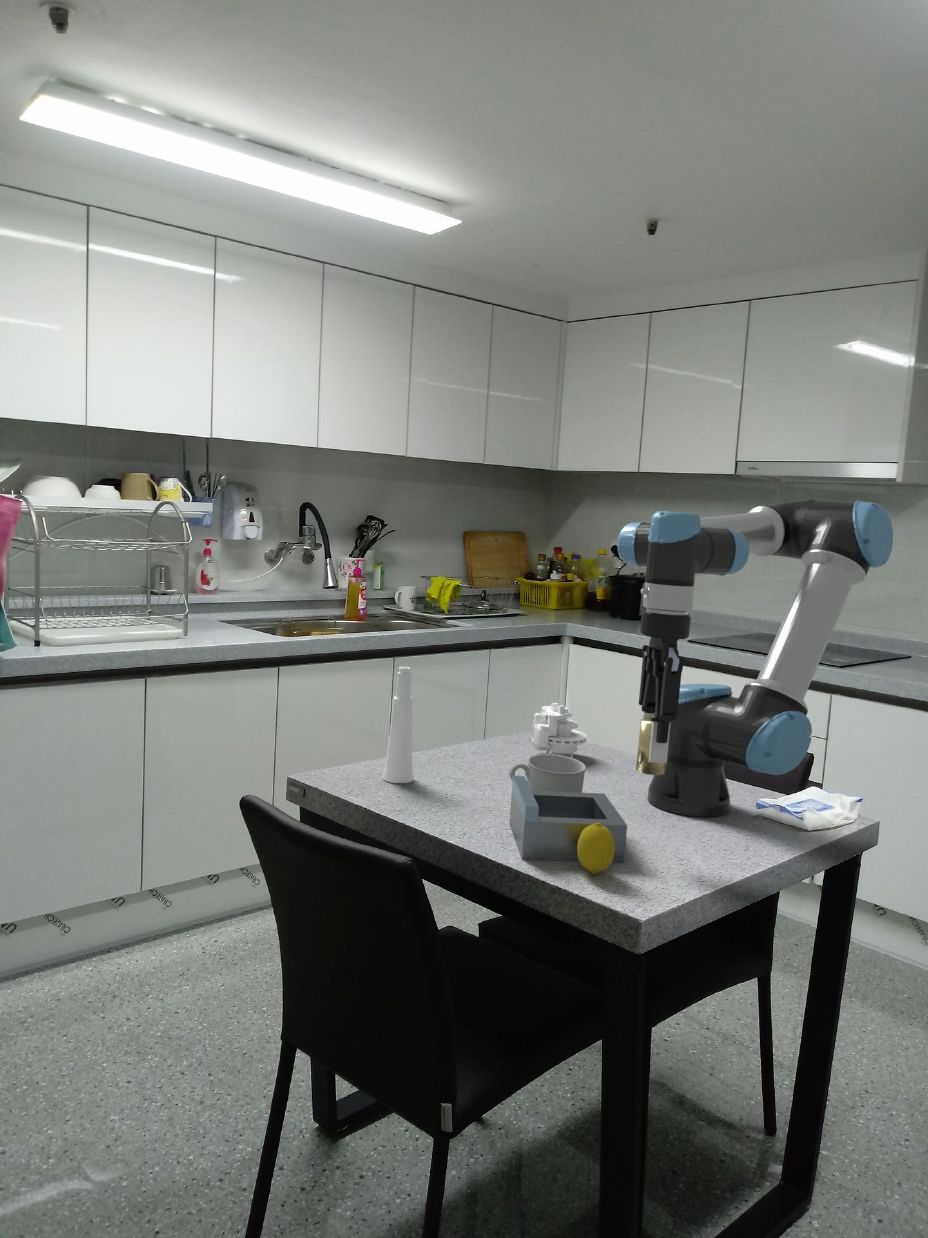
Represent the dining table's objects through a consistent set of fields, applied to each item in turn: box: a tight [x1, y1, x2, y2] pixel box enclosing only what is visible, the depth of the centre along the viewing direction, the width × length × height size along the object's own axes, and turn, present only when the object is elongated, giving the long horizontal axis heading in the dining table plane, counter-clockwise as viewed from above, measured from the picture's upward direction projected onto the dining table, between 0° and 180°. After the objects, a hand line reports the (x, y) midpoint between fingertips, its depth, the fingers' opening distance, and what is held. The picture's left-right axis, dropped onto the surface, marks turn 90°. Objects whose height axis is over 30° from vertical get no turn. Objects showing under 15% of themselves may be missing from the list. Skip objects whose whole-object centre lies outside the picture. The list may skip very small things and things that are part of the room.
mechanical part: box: [530, 702, 587, 758], centre depth 204 cm, size 11×12×12 cm
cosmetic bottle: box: [382, 666, 415, 784], centre depth 179 cm, size 6×6×22 cm
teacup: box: [508, 753, 587, 793], centre depth 171 cm, size 14×11×8 cm
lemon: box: [577, 822, 615, 875], centre depth 138 cm, size 6×6×8 cm
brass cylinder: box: [635, 718, 666, 776], centre depth 147 cm, size 5×5×8 cm
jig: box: [508, 775, 628, 864], centre depth 151 cm, size 16×16×8 cm
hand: (652, 757), depth 147 cm, fingers closed on brass cylinder, 4 cm apart
